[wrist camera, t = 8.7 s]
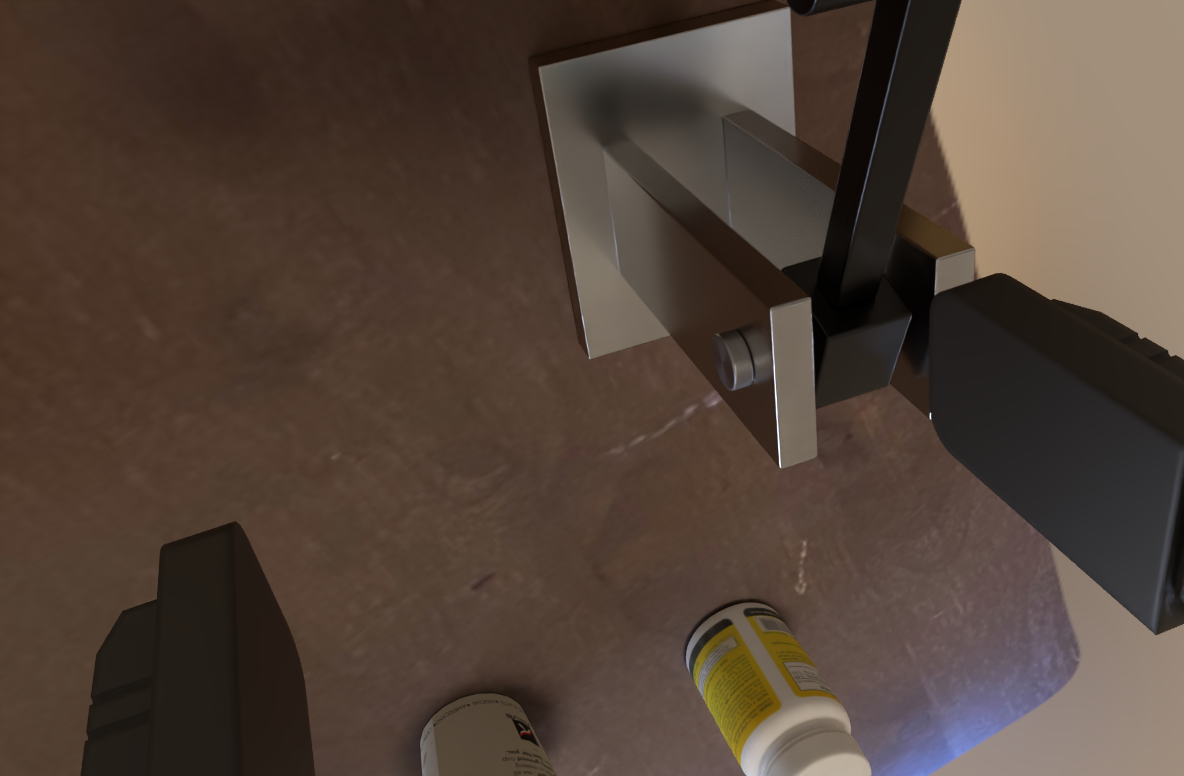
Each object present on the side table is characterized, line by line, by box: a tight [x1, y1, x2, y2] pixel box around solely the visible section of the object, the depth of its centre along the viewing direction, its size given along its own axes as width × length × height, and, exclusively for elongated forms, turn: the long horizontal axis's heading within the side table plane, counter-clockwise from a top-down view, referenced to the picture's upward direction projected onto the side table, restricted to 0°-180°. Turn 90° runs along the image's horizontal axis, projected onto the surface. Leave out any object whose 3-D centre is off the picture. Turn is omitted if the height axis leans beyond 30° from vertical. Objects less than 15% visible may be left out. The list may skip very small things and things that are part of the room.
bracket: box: [528, 0, 975, 469], centre depth 29 cm, size 10×8×13 cm
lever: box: [781, 0, 961, 409], centre depth 21 cm, size 12×5×2 cm, turn 9°
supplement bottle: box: [686, 602, 871, 776], centre depth 43 cm, size 5×5×8 cm
